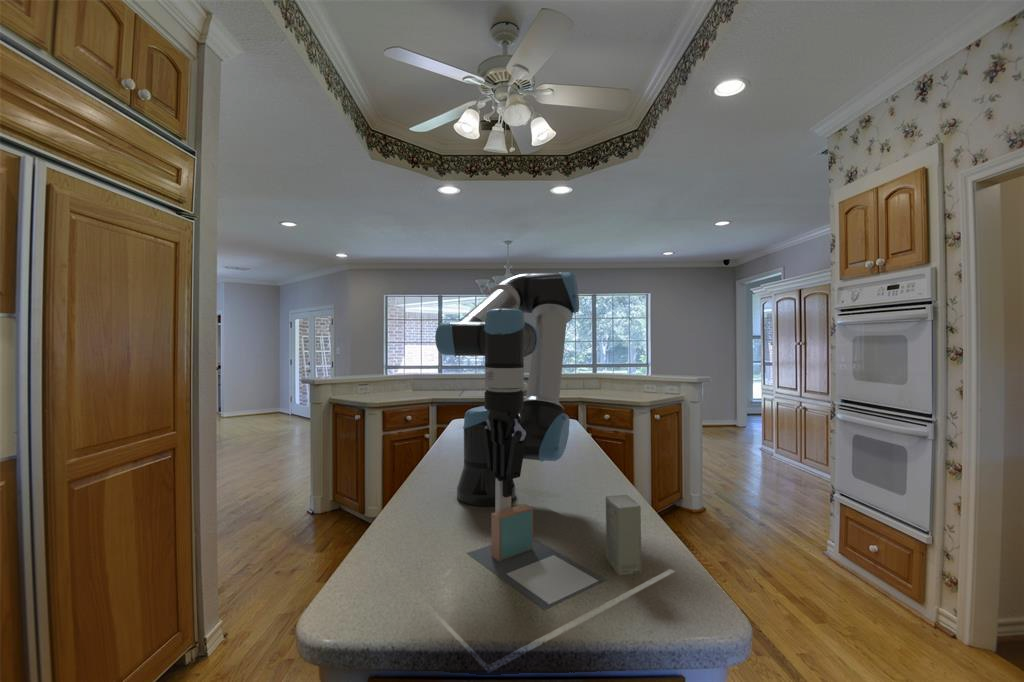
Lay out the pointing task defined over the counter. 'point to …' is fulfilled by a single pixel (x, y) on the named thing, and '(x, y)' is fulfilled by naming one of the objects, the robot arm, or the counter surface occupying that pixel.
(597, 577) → the mat
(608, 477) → the counter surface
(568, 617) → the counter surface
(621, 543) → the skincare box
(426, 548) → the counter surface
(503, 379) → the robot arm
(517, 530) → the tile
